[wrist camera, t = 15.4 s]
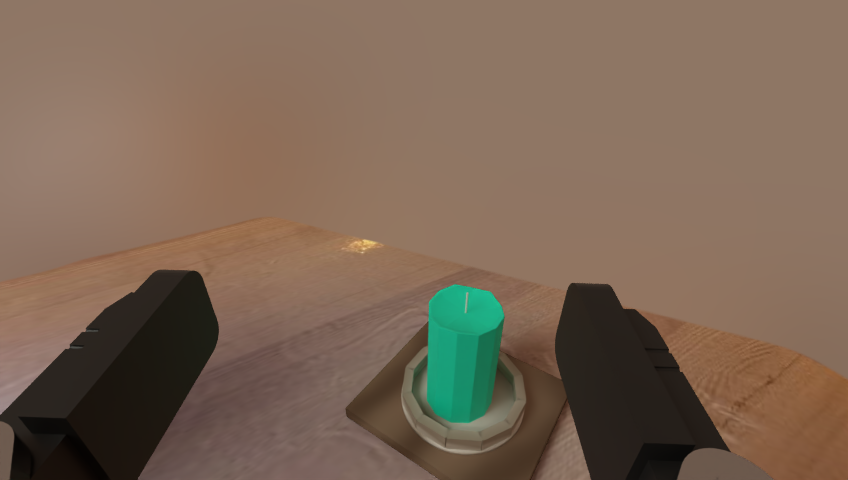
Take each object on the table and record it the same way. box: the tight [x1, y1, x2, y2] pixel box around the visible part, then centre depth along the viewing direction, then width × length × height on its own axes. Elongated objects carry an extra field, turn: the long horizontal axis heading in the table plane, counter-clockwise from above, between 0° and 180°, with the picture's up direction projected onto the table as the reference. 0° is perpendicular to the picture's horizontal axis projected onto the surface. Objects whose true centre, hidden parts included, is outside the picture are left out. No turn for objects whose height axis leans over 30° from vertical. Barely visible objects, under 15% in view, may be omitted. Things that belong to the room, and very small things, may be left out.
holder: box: [346, 321, 567, 480], centre depth 39 cm, size 16×14×3 cm
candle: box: [427, 284, 505, 423], centre depth 35 cm, size 6×6×12 cm
